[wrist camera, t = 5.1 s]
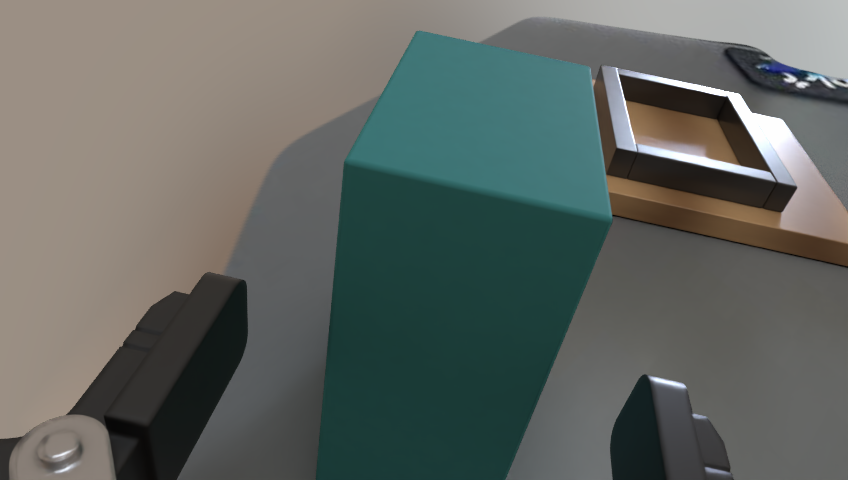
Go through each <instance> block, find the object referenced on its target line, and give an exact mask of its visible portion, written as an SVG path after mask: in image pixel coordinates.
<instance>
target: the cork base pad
mask: <svg viewBox="0 0 848 480" xmlns="http://www.w3.org/2000/svg"><path fill="white" fill-rule="evenodd" d="M592 84H593V90H594V97H595V104H596V111H597V117H598V124H599V131H600V138H601V144H602V151H603V158H604V165H605V171H606V178H607V185H608V192H609V199H610V205H611V212H612V215H617V216H621V217H626V218H630V219H635V220H639V221H644V222H648V223H653V224H658V225H662V226H667V227H671V228H676V229H680V230H685V231H689V232H694V233H698V234H703V235H707V236H712V237H716V238H721V239H725V240H730V241H735V242H739V243H744V244H748V245H753V246H757V247H762V248H766V249H771V250H775V251H780V252H784V253H789V254H793V255H798V256H803V257H807V258H812V259H816V260H821V261H825V262H830V263H834V264H839V265H843V266H848V211H847V210H846V209H845V207H844V206H843V204H842V203H841V201H840V200H839V199H838V197H837V196H836V194H835V193H834V192H833V190H832V189H831V187H830V186H829V185H828V183H827V182H826V180H825V179H824V178H823V176H822V175H821V173H820V172H819V171H818V169H817V168H816V166H815V165H814V163H813V162H812V161H811V159H810V158H809V156H808V155H807V154H806V152H805V151H804V149H803V148H802V147H801V145H800V144H799V142H798V141H797V140H796V138H795V137H794V135H793V134H792V133H791V131H790V130H789V128H788V127H787V125H786V124H785V123H784V121H783V120H782V119H777V118H773V117H768V116H763V115H759V114H754V113H751V112H750V110H749V108H748V107H747V105H746V104H745V102H744V100H743V99H742V97H741V96H740V95H739V94H735V93H731V92H726V91H725V92H724V91H722V90H717V89H713V88H708V87H703V86H699V85H694V84H689V83H684V82H680V81H675V80H670V79H665V78H661V77H656V76H651V75H647V74H642V73H637V72H632V71H628V70H623V69H617V68H614V67H609V66H604V65H601V66H600V69H599V72H598V75H597V78H596V80H594V79H592Z"/></svg>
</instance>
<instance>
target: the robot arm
mask: <svg viewBox="0 0 848 480" xmlns="http://www.w3.org/2000/svg"><path fill="white" fill-rule="evenodd" d="M247 336H248V318H247V285H246V282H245V281H244V280H241V279H237V278H232V277H228V276H224V275H219V274H215V273H211V272H207V273H205V274H204V275H203V276H202V278H201V279H200V280H199V282H198V283H197V285H196V286H195V287H194V289H193V290H192V292H191V293H190V294H185V293H180V292H176V291H174V292H173V293H171V294H170V295H168V296H167V297H165V298H163V299H162V300H160V301H159V302H157V303H156V304H154V305H153V306H151V307H150V309H149V310H148V311H147V313H146V314H145V315H144V316H143V318H142V319H141V320H140V322H139V323H138V324H137V326H136V329H135V330H133V331H132V332H131V333H130V335H129V336H128V337H127V338H126V340H125V341H124V342H123V346H122V347H119V349H118V350H117V351H116V353H115V354H114V355H113V357H112V358H111V359H110V361H109V362H108V363H107V364H106V366H105V367H104V368H103V370H102V371H101V372H100V373H99V375H98V376H97V377H96V379H95V380H94V381H93V383H92V384H91V385H90V386H89V388H88V389H87V390H86V392H85V393H84V394H83V395H82V397H81V398H80V399H79V401H78V402H77V403H76V405H75V406H74V407H73V408H72V409H71V410H70V412H69V413H68V414H66V415H65V416H60V417H56V418H53V419H50V420H48V421H45V422H43V423H41V424H40V425H38V426H36V427H34V428H33V429H32V430H31V431H29V432H28V433H26V434H25V435H24V436H23V437H18V438H9V439H0V480H176V479H177V478H178V476H179V474H180V472H181V470H182V468H183V467H184V465H185V463H186V461H187V459H188V457H189V455H190V454H191V452H192V450H193V448H194V446H195V444H196V443H197V441H198V439H199V437H200V435H201V433H202V431H203V430H204V428H205V426H206V424H207V422H208V420H209V419H210V417H211V415H212V413H213V411H214V409H215V407H216V406H217V404H218V402H219V400H220V398H221V396H222V395H223V393H224V391H225V389H226V387H227V385H228V383H229V382H230V380H231V378H232V376H233V374H234V372H235V371H236V369H237V367H238V365H239V363H240V361H241V359H242V356H243V353H244V350H245V347H246V342H247ZM610 454H611V465H612V477H613V480H734V479H733V475H732V473H730V469H731V468H730V464H729V460H728V456H727V453H726V449H725V445H724V442H723V440H722V439H721V437H720V436H719V434H718V433H717V431H716V430H715V428H714V427H713V425H712V424H711V422H710V421H709V419H708V418H707V417H705V416H701V415H697V414H693V413H692V408H691V404H690V400H689V395H688V391H687V388H686V386H685V385H684V384H683V383H680V382H675V381H671V380H667V379H662V378H658V377H654V376H649V375H642V376H641V377H640V378H639V380H638V382H637V383H636V385H635V387H634V389H633V391H632V392H631V394H630V396H629V398H628V400H627V401H626V403H625V405H624V407H623V409H622V410H621V412H620V414H619V416H618V418H617V419H616V422H615V424H614V427H613V431H612V435H611V443H610Z"/></svg>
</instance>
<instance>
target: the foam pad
mask: <svg viewBox="0 0 848 480" xmlns="http://www.w3.org/2000/svg"><path fill="white" fill-rule="evenodd" d="M612 221H613V220H612V212H611V205H610V199H609V192H608V185H607V178H606V171H605V165H604V158H603V151H602V144H601V138H600V131H599V124H598V117H597V111H596V104H595V97H594V90H593V84H592V77H591V70H590V68H589V67H588V66H584V65H579V64H575V63H570V62H565V61H560V60H556V59H551V58H546V57H542V56H537V55H532V54H527V53H523V52H518V51H513V50H508V49H504V48H499V47H494V46H490V45H485V44H480V43H475V42H470V41H466V40H461V39H456V38H452V37H447V36H442V35H438V34H433V33H428V32H423V31H417V32H416V33H415V35H414V37H413V39H412V40H411V42H410V44H409V46H408V48H407V49H406V51H405V53H404V55H403V57H402V58H401V60H400V62H399V64H398V66H397V67H396V69H395V71H394V73H393V75H392V76H391V78H390V80H389V82H388V84H387V86H386V87H385V89H384V91H383V93H382V94H381V96H380V98H379V100H378V102H377V103H376V105H375V107H374V109H373V111H372V112H371V114H370V116H369V118H368V120H367V121H366V123H365V125H364V127H363V129H362V130H361V132H360V134H359V136H358V138H357V139H356V141H355V143H354V145H353V147H352V149H351V150H350V152H349V154H348V156H347V158H346V159H345V161H344V169H343V180H342V192H341V203H340V214H339V225H338V236H337V247H336V259H335V270H334V281H333V292H332V303H331V314H330V326H329V337H328V348H327V359H326V370H325V381H324V393H323V404H322V415H321V426H320V437H319V448H318V460H317V471H316V480H505V479H506V477H507V474H508V472H509V469H510V467H511V465H512V462H513V460H514V457H515V455H516V453H517V450H518V448H519V445H520V443H521V441H522V438H523V436H524V433H525V431H526V428H527V426H528V424H529V421H530V419H531V416H532V414H533V412H534V409H535V407H536V404H537V402H538V400H539V397H540V395H541V392H542V390H543V388H544V385H545V383H546V380H547V378H548V375H549V373H550V371H551V368H552V366H553V363H554V361H555V359H556V356H557V354H558V351H559V349H560V347H561V344H562V342H563V339H564V337H565V335H566V332H567V330H568V327H569V325H570V322H571V320H572V318H573V315H574V313H575V310H576V308H577V306H578V303H579V301H580V298H581V296H582V294H583V291H584V289H585V286H586V284H587V282H588V279H589V277H590V274H591V272H592V269H593V267H594V265H595V262H596V260H597V257H598V255H599V253H600V250H601V248H602V245H603V243H604V241H605V238H606V236H607V233H608V231H609V229H610V226H611V224H612Z"/></svg>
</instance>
